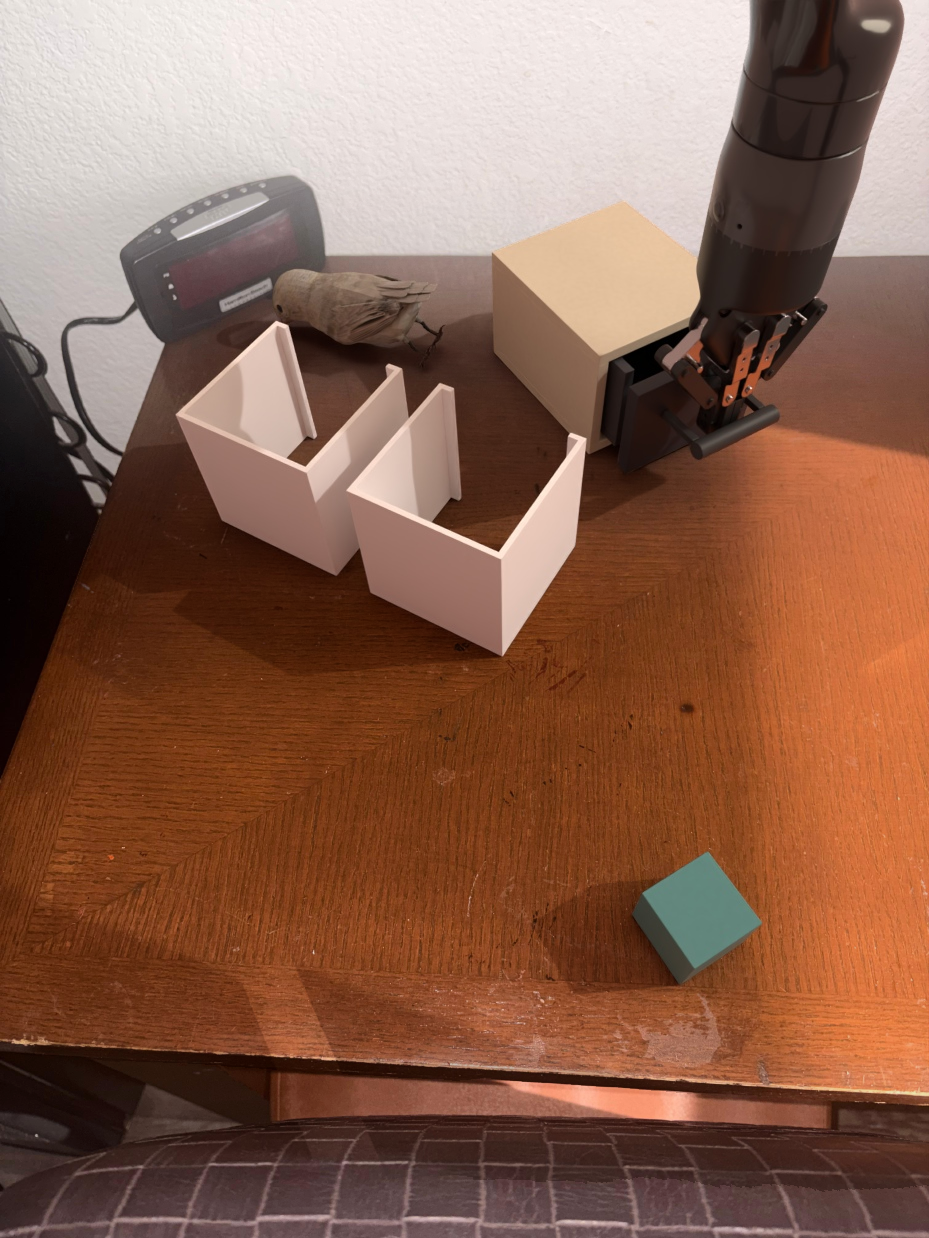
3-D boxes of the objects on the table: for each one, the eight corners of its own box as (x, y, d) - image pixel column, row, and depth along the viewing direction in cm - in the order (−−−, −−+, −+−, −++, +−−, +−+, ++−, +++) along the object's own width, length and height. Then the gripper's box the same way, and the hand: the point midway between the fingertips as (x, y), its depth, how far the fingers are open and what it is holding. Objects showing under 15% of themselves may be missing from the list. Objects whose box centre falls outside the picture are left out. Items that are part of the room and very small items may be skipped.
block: (693, 874, 49) (707, 850, 46) (743, 942, 47) (762, 923, 43) (631, 914, 48) (641, 892, 44) (679, 985, 46) (694, 969, 42)
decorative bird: (295, 306, 80) (278, 233, 74) (453, 342, 76) (448, 268, 70) (268, 342, 77) (247, 269, 71) (429, 381, 73) (422, 308, 67)
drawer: (785, 455, 66) (816, 374, 59) (664, 516, 63) (683, 439, 56) (641, 326, 75) (654, 243, 68) (530, 374, 72) (532, 293, 65)
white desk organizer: (221, 520, 66) (175, 414, 56) (306, 431, 71) (276, 320, 61) (502, 656, 58) (501, 559, 49) (575, 545, 63) (586, 438, 54)
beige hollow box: (715, 395, 71) (742, 293, 63) (588, 455, 68) (599, 356, 60) (611, 302, 78) (624, 200, 70) (493, 352, 75) (491, 251, 67)
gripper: (728, 281, 44) (674, 500, 59) (913, 200, 48) (819, 427, 62) (642, 213, 48) (611, 435, 63) (819, 142, 51) (750, 369, 66)
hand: (714, 430), depth 62 cm, fingers closed
